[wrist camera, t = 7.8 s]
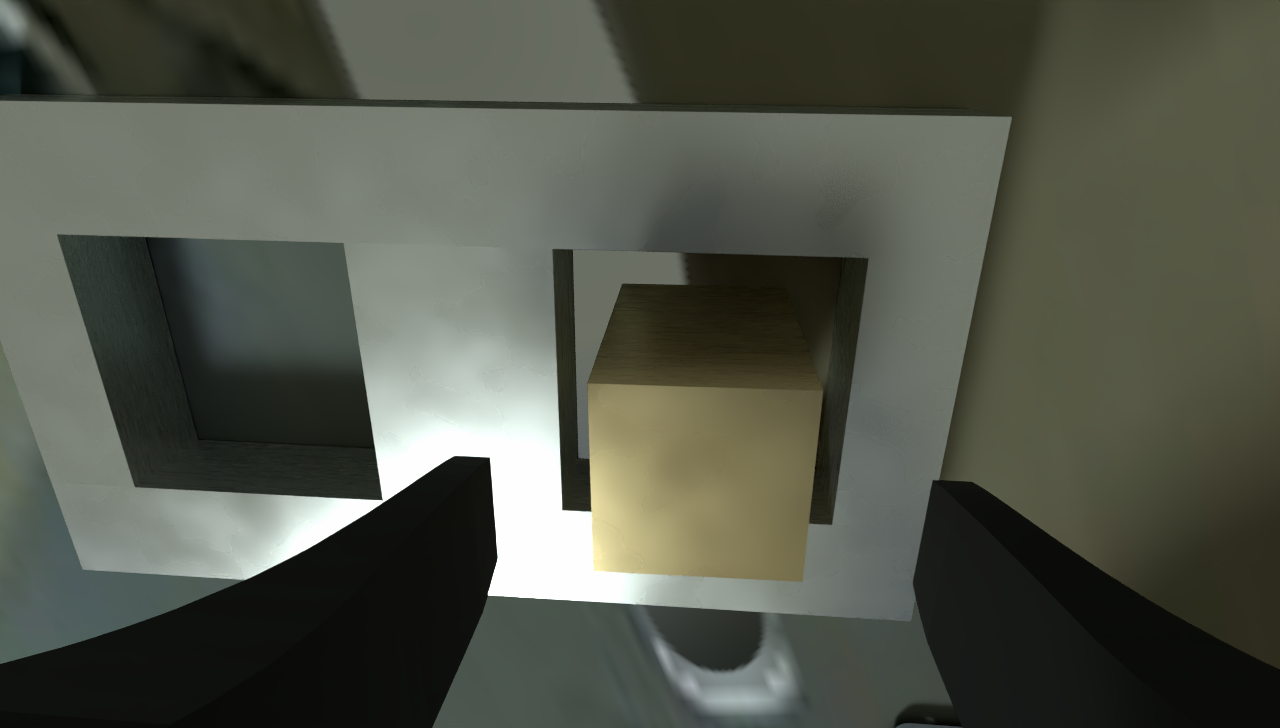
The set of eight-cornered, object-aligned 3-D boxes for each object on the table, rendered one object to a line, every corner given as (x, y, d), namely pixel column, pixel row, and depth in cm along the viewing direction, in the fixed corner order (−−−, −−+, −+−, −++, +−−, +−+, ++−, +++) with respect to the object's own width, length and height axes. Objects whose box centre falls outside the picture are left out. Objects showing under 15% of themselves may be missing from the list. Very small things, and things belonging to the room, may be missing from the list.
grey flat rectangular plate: (966, 108, 16) (1012, 116, 13) (887, 557, 20) (910, 621, 18) (18, 94, 17) (-87, 99, 15) (147, 516, 22) (82, 569, 20)
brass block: (785, 287, 18) (822, 390, 12) (773, 431, 19) (802, 582, 14) (622, 283, 18) (587, 383, 12) (624, 426, 19) (593, 571, 14)
